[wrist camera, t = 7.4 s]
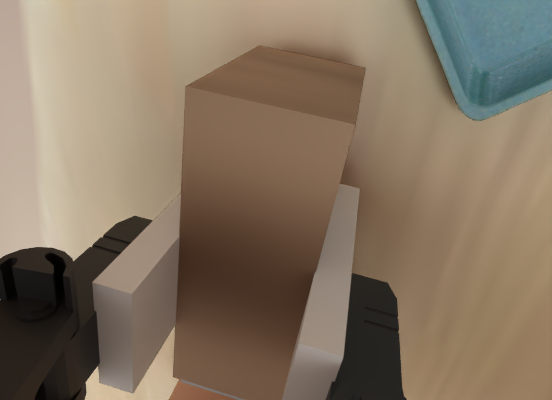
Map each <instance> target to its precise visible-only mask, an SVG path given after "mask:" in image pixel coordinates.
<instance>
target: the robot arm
mask: <svg viewBox="0 0 552 400" xmlns="http://www.w3.org/2000/svg"><path fill="white" fill-rule="evenodd" d="M359 193H360V188H356V187H352V186H348V185H344V184H339V188H338V192H337V196H336V199H335V203H334V207H333V210H332V214H331V218H330V222H329V225H328V229H327V233H326V237H325V240H324V244H323V248H322V252H321V255H320V259H319V263H318V267H317V270H316V272H315V274H314V277H313V281H312V285H311V289H310V292H309V296H308V300H307V304H306V307H305V311H304V315H303V319H302V322H301V326H300V330H299V334H298V337H297V341H296V345H295V349H294V353H293V356H292V360H291V364H290V369H289V373H288V377H287V381H286V385H285V390H284V394H283V398H282V400H406V398H405V397H404V395H403V390H402V377H401V360H400V343H399V333H398V330H399V325H398V319H397V317H398V308H397V298H396V297H395V295H394V293H393V291H392V290H391V288H390V286H389V284H388V283H387V282H383V281H379V280H375V279H372V278H368V277H364V276H361V275H357V274H353V273H352V265H353V255H354V244H355V234H356V224H357V214H358V204H359ZM180 205H181V193H180V194H179V195H178V196H177V197H176V198H175V199H174V200H173V201H172V202H171V203H170V204H169V205H168V206H167V207H166V208H165V209H164V210H163V211H162V212H161V213H160V214H159V215H158V216H157V217H156V218H155V219H154V220H153V221H152V220H149V219H145V218H141V217H138V216H133V217H131V218H128V219H126V220H124V221H121V222H119V223H117V224H115V225H114V226H113V227H112V228H111V229H110V230H109V231H108V232H106V233H105V234H104V236H103V238H102V237H101V238H100V239H98V240H97V241H96V242H95V243H94V244H93V246H92V247H89V248H88V249H87V250H86V251H85V252H84V253H83V254H82V255H80V256H79V257H78V258H77V259H76V260H75V261H74V262H73V259H72V258H71V257H70V256H69V255H68V254H67V253H65V252H63V251H60V250H57V249H54V248H44V247H35V248H29V249H22V250H19V251H16V252H13V253H10V254H8V255H5V256H3V257H2V258H0V400H84V399H85V396H86V383H85V382H86V381H87V379H88V378H89V377H90V375H91V374H92V373H93V371H94V370H95V369H96V367H97V366H98V369H99V383H102V384H105V385H108V386H111V387H114V388H117V389H120V390H123V391H127V392H130V393H134V391H135V390H136V388H137V386H138V385H139V383H140V381H141V380H142V378H143V376H144V375H145V373H146V372H147V370H148V368H149V367H150V365H151V363H152V362H153V360H154V358H155V357H156V355H157V354H158V352H159V350H160V349H161V347H162V345H163V344H164V342H165V340H166V339H167V337H168V336H169V334H170V332H171V331H172V329H173V327H174V326H175V324H176V306H177V284H178V262H179V240H180V235H179V228H180Z"/></svg>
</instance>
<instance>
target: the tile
mask: <svg viewBox="0 0 552 400" xmlns="http://www.w3.org/2000/svg"><path fill="white" fill-rule="evenodd" d="M169 400H237V399H234V398H231V397H227V396H224V395H221V394H218V393H215V392H212V391H208V390H205V389H202V388H199V387H196V386H193V385H189V384H186V383H183V382H181V379H179V381H178V383H177V385H176V387H175V389H174V391H173V393H172V395H171V397H170V398H169Z"/></svg>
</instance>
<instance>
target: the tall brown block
mask: <svg viewBox="0 0 552 400" xmlns="http://www.w3.org/2000/svg"><path fill="white" fill-rule="evenodd" d="M364 74H365V68H364V67H359V66H355V65H350V64H345V63H340V62H335V61H331V60H326V59H321V58H316V57H311V56H307V55H302V54H297V53H292V52H287V51H283V50H278V49H273V48H268V47H263V46H258V47H256V48H254V49H252V50H251V51H249V52H247V53H245V54H243V55H242V56H240V57H238V58H236V59H234V60H233V61H231V62H229V63H227V64H225V65H223V66H222V67H220V68H218V69H216V70H214V71H213V72H211V73H209V74H207V75H205V76H204V77H202V78H200V79H198V80H196V81H194V82H193V83H191V84H189V85H187V86H186V91H185V114H184V137H183V159H182V182H181V205H180V228H179V235H180V240H179V262H178V284H177V306H176V324H175V342H174V365H173V377H174V378H178V379H181V382H183V383H186V384H189V385H193V386H196V387H199V388H202V389H205V390H208V391H212V392H215V393H218V394H221V395H224V396H227V397H231V398H234V399H237V400H282V398H283V394H284V390H285V385H286V381H287V377H288V373H289V369H290V364H291V360H292V356H293V353H294V349H295V345H296V341H297V337H298V334H299V330H300V326H301V322H302V319H303V315H304V311H305V307H306V304H307V300H308V296H309V292H310V289H311V285H312V281H313V277H314V274H315V272H316V270H317V267H318V263H319V259H320V255H321V252H322V248H323V244H324V240H325V237H326V233H327V229H328V225H329V222H330V218H331V214H332V210H333V207H334V203H335V199H336V196H337V192H338V188H339V184H340V181H341V177H342V173H343V169H344V166H345V162H346V158H347V154H348V151H349V147H350V143H351V139H352V136H353V132H354V128H355V124H356V119H357V113H358V108H359V102H360V96H361V91H362V85H363V80H364Z"/></svg>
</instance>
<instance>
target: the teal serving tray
mask: <svg viewBox="0 0 552 400" xmlns="http://www.w3.org/2000/svg"><path fill="white" fill-rule="evenodd" d="M415 1H416V3H417V6H418V8H419V11H420V13H421V16H422V18H423V21H424V23H425V25H426V27H427V30H428V33H429V35H430V38H431V40H432V43H433V46H434V48H435V51H436V53H437V55H438V58H439V60H440V63H441V65H442V68H443V70H444V73H445V76H446V78H447V81H448V84H449V86H450V89H451V91H452V94H453V96H454V99H455V101H456V104H457V106H458V107H459V109H460V110H461V112H462V113H463V114H464V115H466V116H467V117H468V118H470V119H472V120H475V121H482V120H485V119H487V118H490V117H492V116H495V115H497V114H499V113H502V112H504V111H506V110H508V109H510V108H513V107H515V106H517V105H519V104H522V103H524V102H526V101H528V100H531V99H533V98H535V97H538V96H540V95H542V94H544V93H547V92H549V91H551V90H552V0H415Z"/></svg>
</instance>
